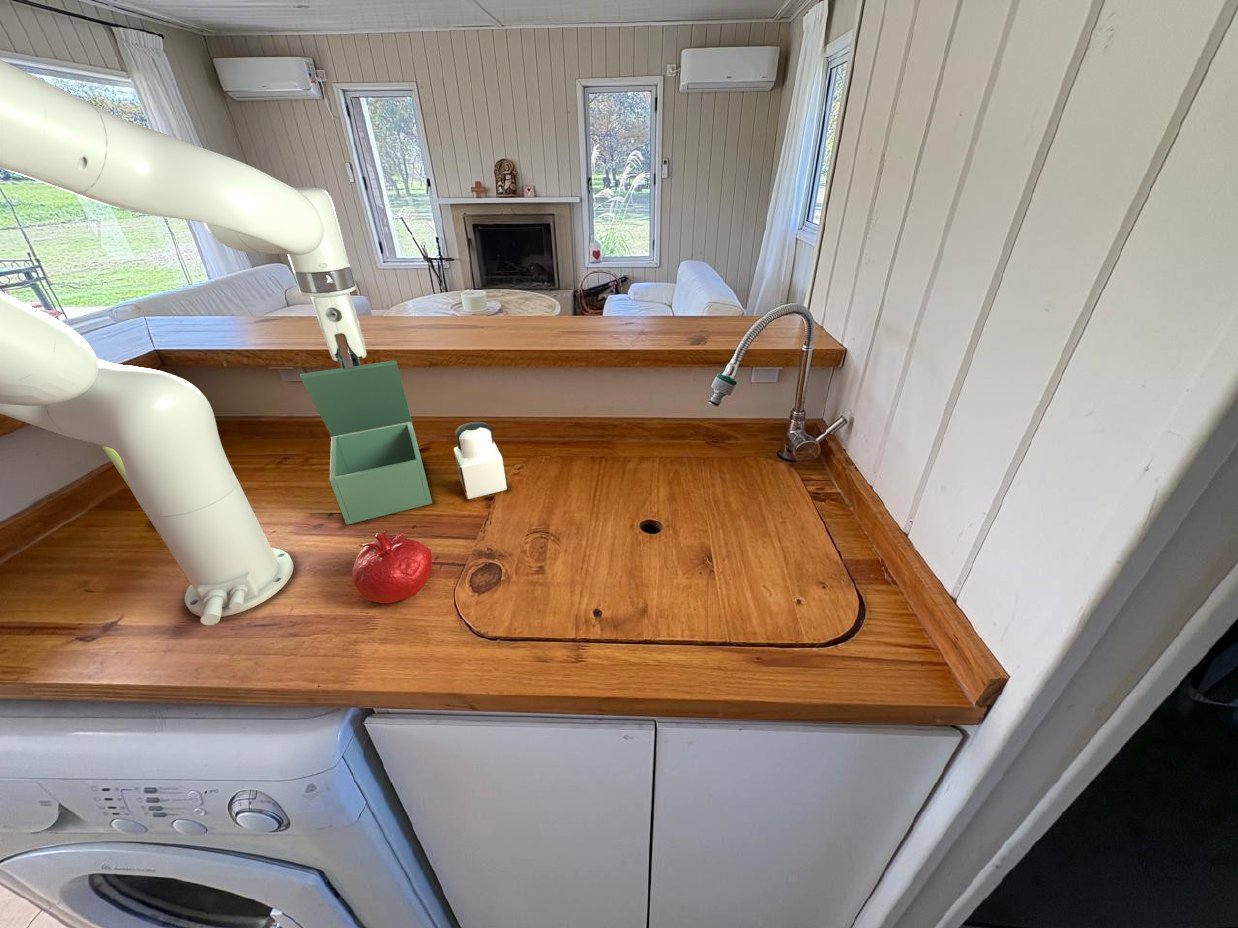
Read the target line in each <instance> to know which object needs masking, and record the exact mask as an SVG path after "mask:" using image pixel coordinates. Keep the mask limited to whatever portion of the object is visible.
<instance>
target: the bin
mask: <svg viewBox="0 0 1238 928" xmlns="http://www.w3.org/2000/svg"><path fill="white" fill-rule="evenodd" d="M330 439H331V441H330V460H329V484H330V486H331V488H332V491H333V494H334V497H335V500H336V502H337V504H338V507H339V509H340V510H339V511H340V513H341V515H342V518H343V520H344V523H345V525H346V526H348V525H351V524H356V523H359V522H364V521H367V520H372V519H376V518H379V517H383V516H388V515H392V514H397V513H399V512H404V511H408V510H412V509H416V508H420V507H424V506H428V505H432V504H433V500H432V497H431V496H432V495H431V492H430V491H431V490H430V488H429V484H428V479H427V476H426V472H425V468H424V464H423V460H422V456H421V452H420V448H419V445H418V440H417V437H416V433H415V429H414V425H413V421H408V422H403V423H398V424H392V425H387V426H382V427H376V428H371V429H366V430H360V431H355V432H350V433H344V434H339V435H334V436H330Z"/></svg>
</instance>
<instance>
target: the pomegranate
mask: <svg viewBox="0 0 1238 928" xmlns="http://www.w3.org/2000/svg"><path fill="white" fill-rule="evenodd" d="M411 531H412V530H411V529H410V530H406V531H403V532H401V533H399V534H398V535H390V536H387V535H386V534H387V533H388V531H387V530H386V529H385V530H384V531H382V533H381V532H378V533H375V534H374V537H375V539H376V540H374V541H372V542H367V543H363V544H358V545H359V547H360V548H362V549H361V550H360V552H359V553H358V555H357V556H356V558H355V561H354V564H353V566H352V571H351V572H352V582H353V585H354V587H355V588H356V590H357V592H358V593H359V594H360V595H361V597H362V598H363V599H365V600H367V601H369V602H375V603H378V604H392V603H397V602H400V601H403V600H407V599H410V598H412V597H413V596H415V595H417V594H418V593H419V592H420V591H421V590H422V589H423V587H424V586H425V585H426V584H427V582H428V580H429V578H430V577H431V574H432V570H433V557H432V551H431V548H430V547H428V546H426V545H425V544H422V543H421V542H419V541H418V540H415V539H410V538H407V537H404V536H402V535H405V534H406V533H408V532H411Z"/></svg>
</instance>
